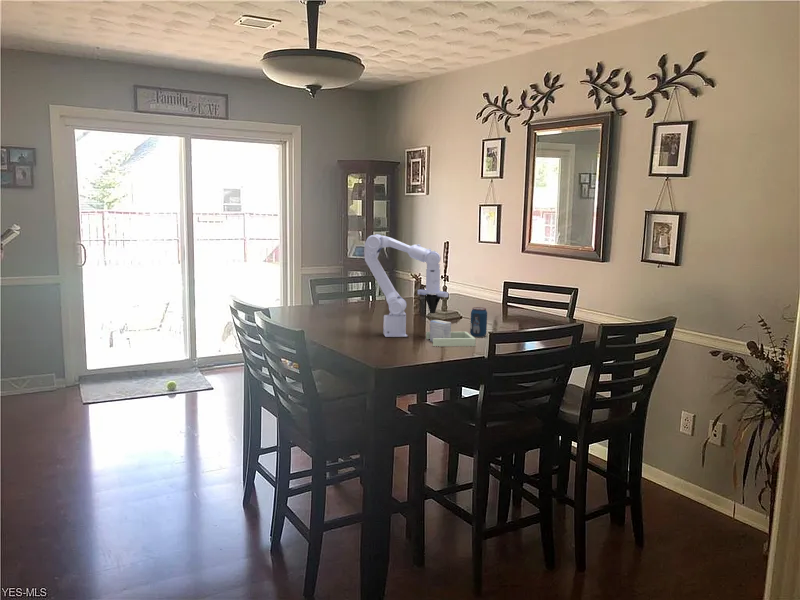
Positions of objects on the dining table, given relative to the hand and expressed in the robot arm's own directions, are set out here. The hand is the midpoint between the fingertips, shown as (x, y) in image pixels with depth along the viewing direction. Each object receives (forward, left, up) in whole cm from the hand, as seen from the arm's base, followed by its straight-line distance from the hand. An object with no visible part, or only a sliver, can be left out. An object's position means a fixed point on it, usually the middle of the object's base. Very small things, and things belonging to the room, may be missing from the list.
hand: (432, 312), depth 266 cm
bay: (+5, -10, -10) cm, 16 cm away
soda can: (+21, +3, -11) cm, 24 cm away
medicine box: (+1, -10, -11) cm, 15 cm away
